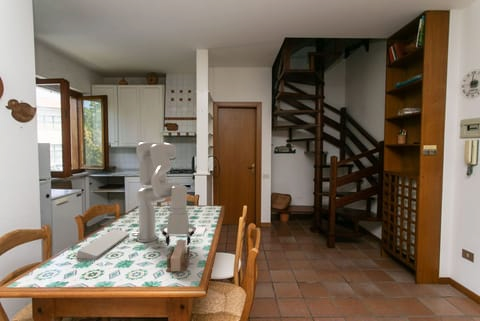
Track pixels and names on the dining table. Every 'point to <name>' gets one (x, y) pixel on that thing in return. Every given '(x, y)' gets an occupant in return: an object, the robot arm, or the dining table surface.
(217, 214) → the dining table surface
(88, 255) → the decorative molding
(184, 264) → the rack
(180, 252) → the clay strip
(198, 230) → the tray
